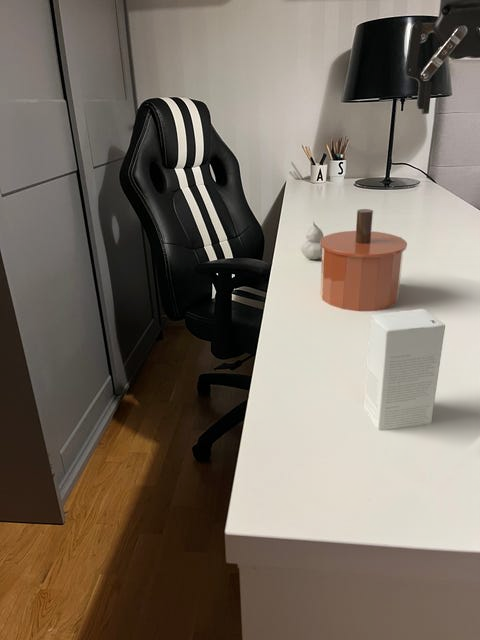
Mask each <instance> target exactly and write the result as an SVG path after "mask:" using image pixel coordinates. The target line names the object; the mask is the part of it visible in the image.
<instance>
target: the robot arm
mask: <svg viewBox="0 0 480 640" xmlns="http://www.w3.org/2000/svg"><path fill="white" fill-rule="evenodd" d="M438 11H439V12H438V15H437V18H436V21H435V22H422V21H420V20H417V21H415V22H413V24H412V25H411V27H410V32H409V38H408V44H407V45H408V46H407V52H406V59H405V65H404V75H405V76H406V77H407V78H412V79H413V80H414V79H415V80H416V81H417V82H418V88H417V89H418V90H417V99H416V106H417V109H418V110H421V114H422V115H429V114H430V105H431V98H432V97H431V96H432V86H433V82H432V81H431V79H432V76H433V75H434V74H435V73H436V72H437V71H438V69H439V68H440V67H441V65H443V63H444V62H445V61H446V60H447V59H448V58H449V59H451V60H453V61H454V60H455V61H456V60H461V59H464V58H468V59H472V60H473V59H480V0H440V2H439V10H438ZM431 33H433V35H434V37H435V39H436V41H437V42H438V44H439V46H440V47H438V48H437V50H436V52H435V53H434V54H433V55H432V57H431V58H430V60H429V61H428V62H427V63H426V65H425V66H424V67H423V68H421V67H418V62H419V55H420V48H421V44H423V43H425V42H426V41H427V39H428V37H429V35H430V34H431Z"/></svg>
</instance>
